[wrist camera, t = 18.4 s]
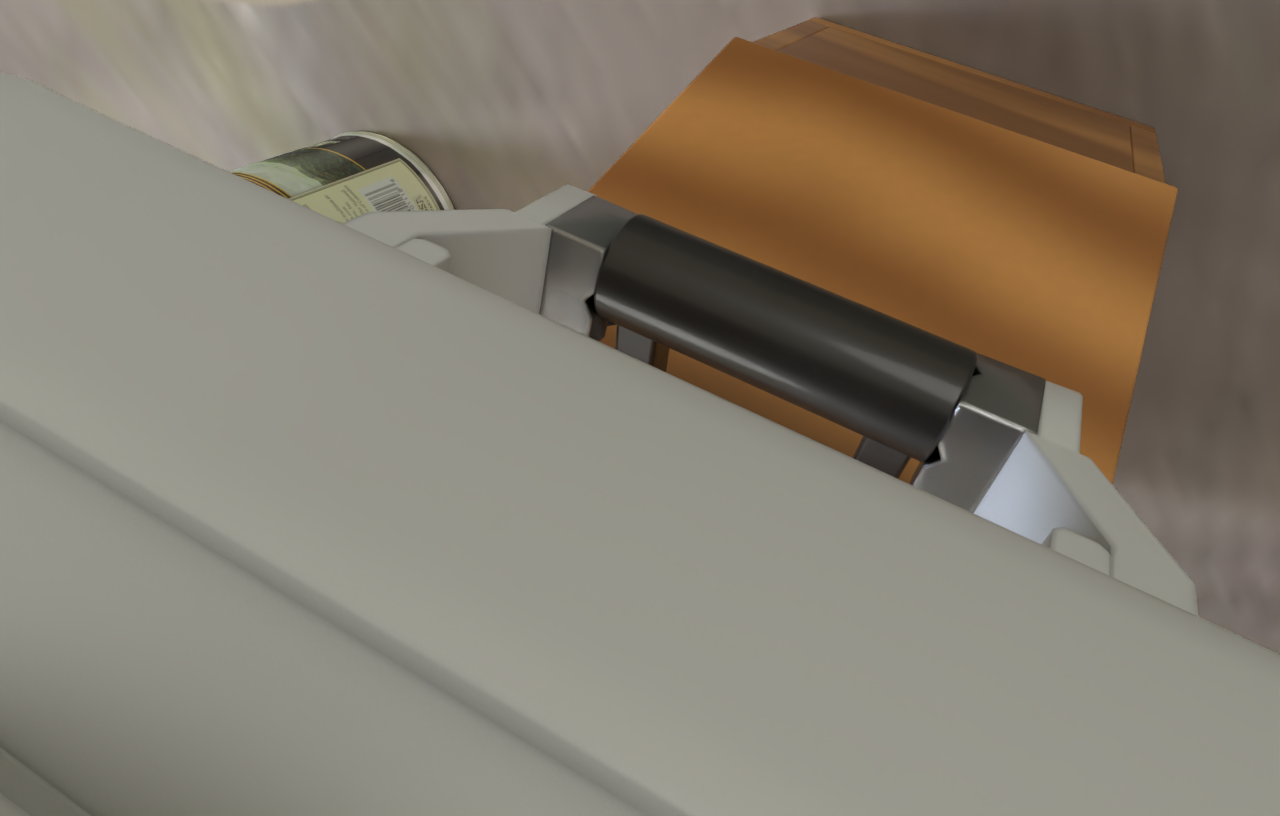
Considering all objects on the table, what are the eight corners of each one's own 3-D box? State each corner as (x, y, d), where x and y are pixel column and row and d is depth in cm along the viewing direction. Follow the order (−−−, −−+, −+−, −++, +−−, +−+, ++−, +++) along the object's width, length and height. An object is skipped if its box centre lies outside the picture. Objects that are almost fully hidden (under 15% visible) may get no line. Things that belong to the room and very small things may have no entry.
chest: (965, 449, 34) (934, 566, 28) (713, 338, 37) (637, 422, 31) (1155, 127, 26) (1169, 194, 20) (815, 16, 29) (738, 46, 23)
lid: (1032, 757, 12) (1244, 635, 8) (396, 424, 15) (335, 216, 11) (1160, 213, 20) (1300, 21, 16) (729, 62, 23) (761, -132, 19)
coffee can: (289, 237, 46) (37, 340, 35) (340, 84, 39) (49, 153, 29) (426, 361, 46) (215, 502, 35) (500, 228, 39) (268, 352, 28)
